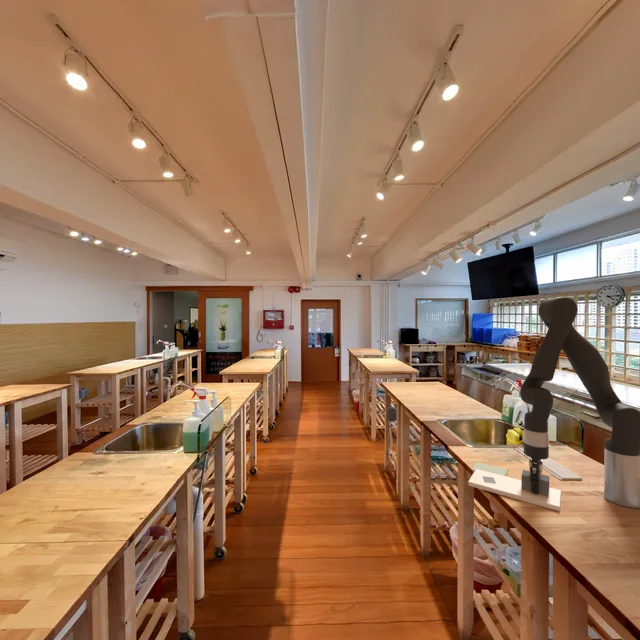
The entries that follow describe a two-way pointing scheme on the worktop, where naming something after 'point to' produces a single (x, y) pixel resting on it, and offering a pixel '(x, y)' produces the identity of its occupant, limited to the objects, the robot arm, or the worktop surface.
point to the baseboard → (555, 468)
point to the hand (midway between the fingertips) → (535, 489)
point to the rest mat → (489, 468)
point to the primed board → (513, 489)
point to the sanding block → (542, 485)
